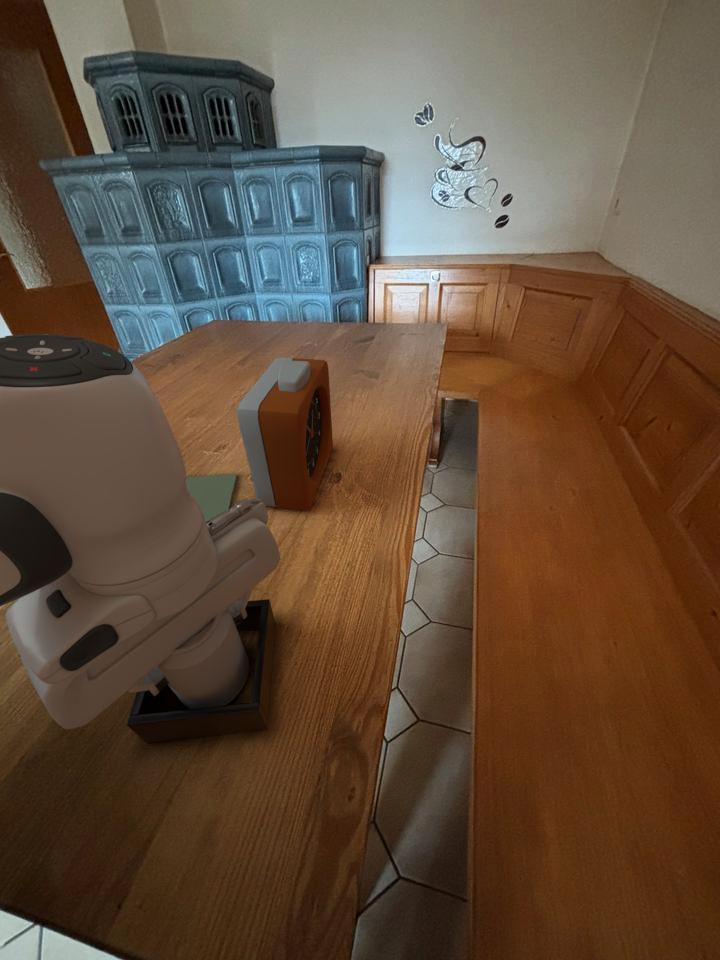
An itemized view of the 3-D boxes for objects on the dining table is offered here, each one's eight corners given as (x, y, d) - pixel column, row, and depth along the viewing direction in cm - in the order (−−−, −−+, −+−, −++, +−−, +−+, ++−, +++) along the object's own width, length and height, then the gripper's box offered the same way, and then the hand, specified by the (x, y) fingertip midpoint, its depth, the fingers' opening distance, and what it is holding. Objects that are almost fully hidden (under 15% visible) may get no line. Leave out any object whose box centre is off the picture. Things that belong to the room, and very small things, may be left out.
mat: (107, 553, 55) (106, 550, 55) (144, 482, 67) (143, 479, 67) (221, 544, 56) (220, 542, 56) (237, 476, 68) (236, 473, 68)
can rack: (146, 743, 37) (125, 725, 34) (178, 631, 46) (164, 608, 43) (267, 730, 38) (258, 710, 35) (275, 622, 47) (269, 598, 44)
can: (248, 709, 39) (221, 652, 32) (172, 722, 38) (125, 666, 31) (252, 639, 45) (230, 577, 37) (186, 649, 44) (149, 588, 36)
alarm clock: (309, 514, 61) (295, 397, 48) (257, 508, 62) (228, 392, 49) (334, 448, 75) (328, 343, 62) (290, 444, 76) (275, 340, 63)
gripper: (239, 475, 36) (262, 566, 45) (-27, 631, 24) (76, 714, 33) (284, 504, 33) (299, 595, 42) (5, 699, 21) (109, 771, 30)
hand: (200, 649), depth 37 cm, fingers closed on can, 7 cm apart
